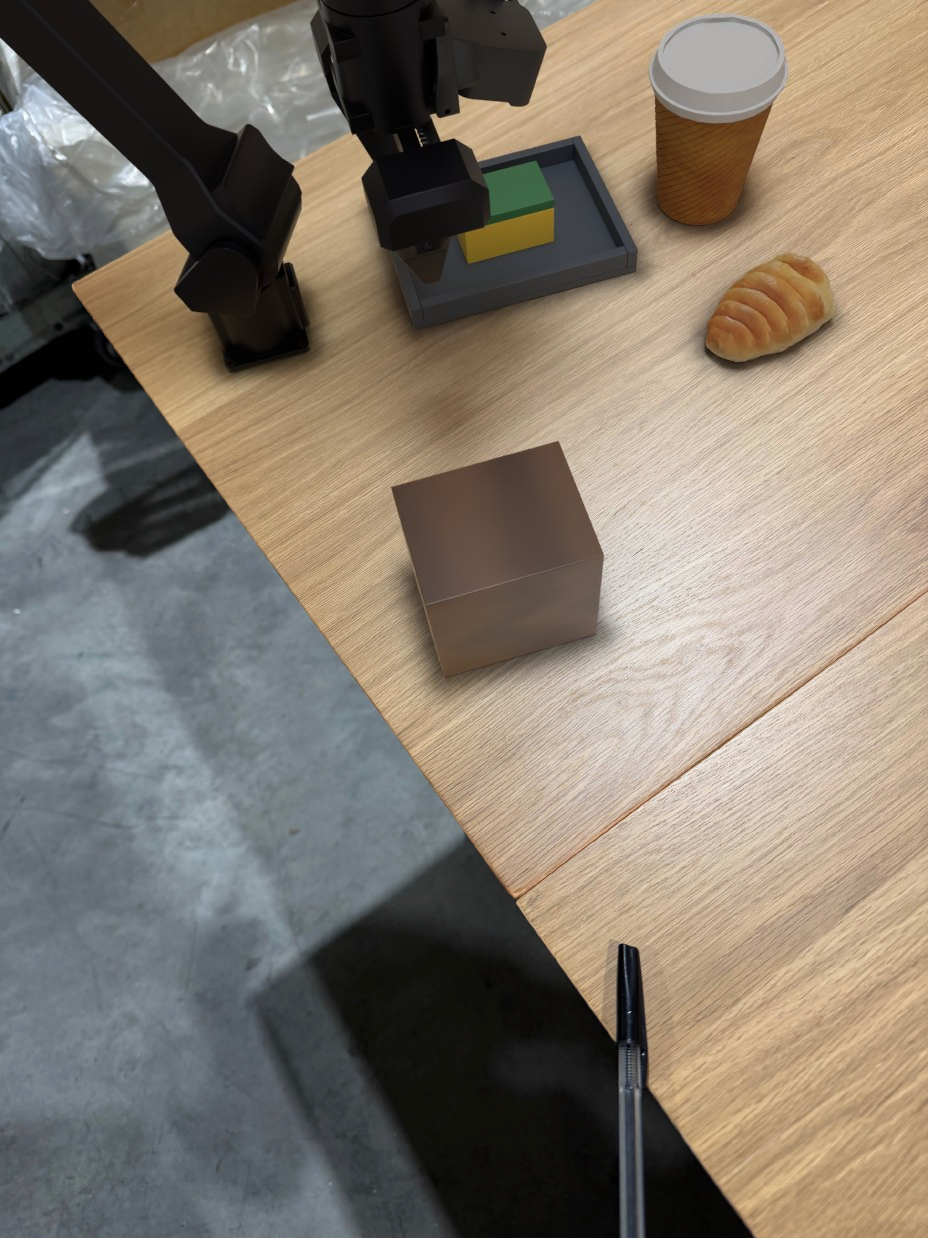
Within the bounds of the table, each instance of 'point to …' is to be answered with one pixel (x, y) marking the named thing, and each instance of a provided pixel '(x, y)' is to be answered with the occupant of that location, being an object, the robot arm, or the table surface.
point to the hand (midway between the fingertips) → (414, 231)
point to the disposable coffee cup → (712, 110)
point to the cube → (502, 557)
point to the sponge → (513, 214)
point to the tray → (576, 257)
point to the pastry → (771, 309)
